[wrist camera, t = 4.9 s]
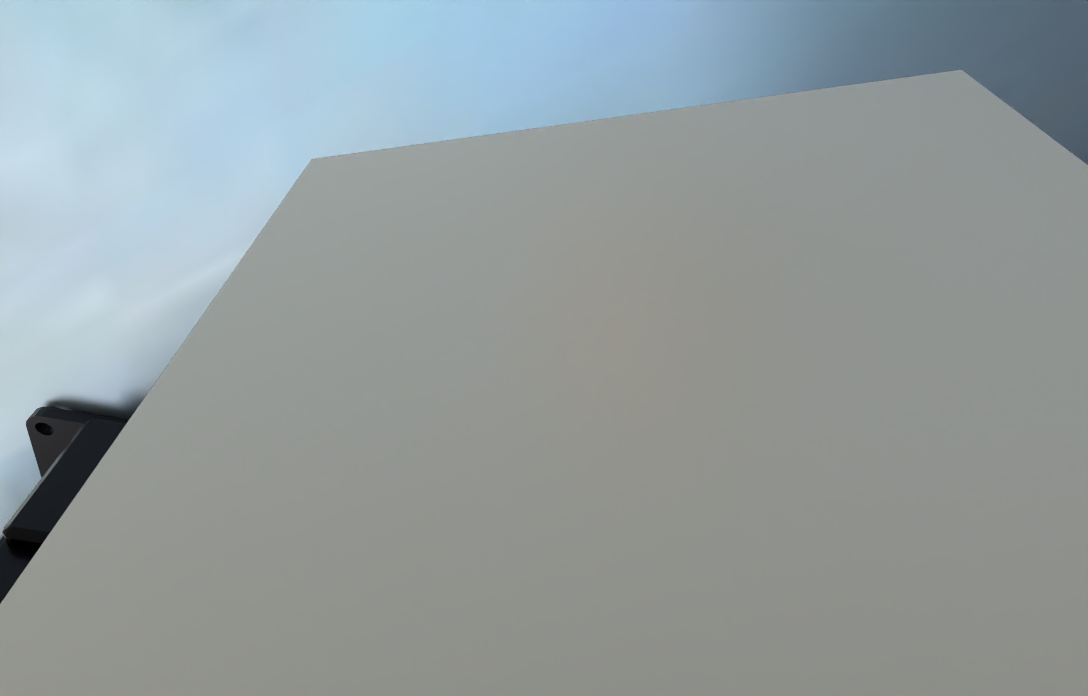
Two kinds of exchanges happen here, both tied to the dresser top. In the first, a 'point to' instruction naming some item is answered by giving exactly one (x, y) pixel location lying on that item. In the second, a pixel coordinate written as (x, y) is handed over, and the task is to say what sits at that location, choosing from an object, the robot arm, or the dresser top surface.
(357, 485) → the white cube
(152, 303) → the dresser top surface
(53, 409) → the robot arm
